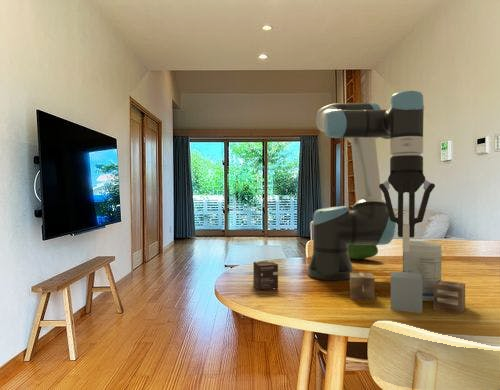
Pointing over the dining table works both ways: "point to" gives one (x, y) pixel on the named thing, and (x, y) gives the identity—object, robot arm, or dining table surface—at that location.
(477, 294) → the dining table surface
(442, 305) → the marked cube right
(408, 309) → the plain block
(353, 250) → the fruit
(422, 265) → the supplement tub
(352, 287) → the marked cube left
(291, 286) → the dining table surface
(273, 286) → the box
